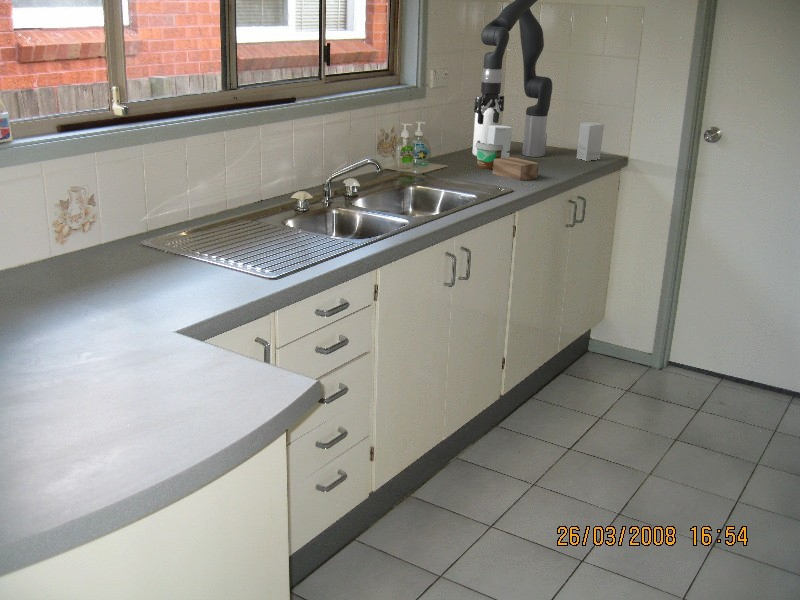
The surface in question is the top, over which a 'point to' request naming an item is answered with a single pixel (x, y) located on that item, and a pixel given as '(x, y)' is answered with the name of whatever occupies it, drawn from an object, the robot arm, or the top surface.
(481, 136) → the alcohol
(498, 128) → the skincare box
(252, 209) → the top surface
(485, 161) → the food container
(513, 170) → the walnut block
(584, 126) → the skincare box
